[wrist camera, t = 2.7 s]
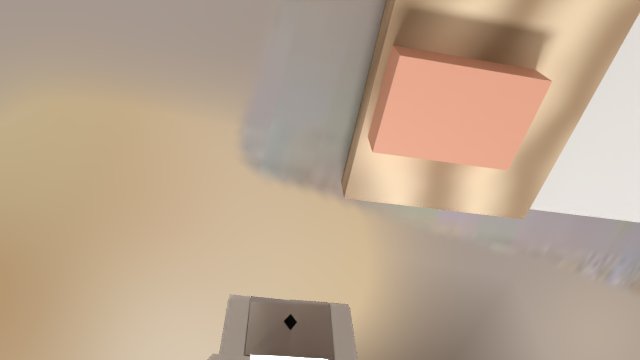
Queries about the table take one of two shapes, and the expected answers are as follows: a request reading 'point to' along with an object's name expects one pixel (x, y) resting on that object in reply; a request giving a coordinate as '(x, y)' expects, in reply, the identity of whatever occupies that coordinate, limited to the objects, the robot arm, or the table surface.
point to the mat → (603, 147)
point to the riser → (499, 47)
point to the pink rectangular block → (454, 108)
